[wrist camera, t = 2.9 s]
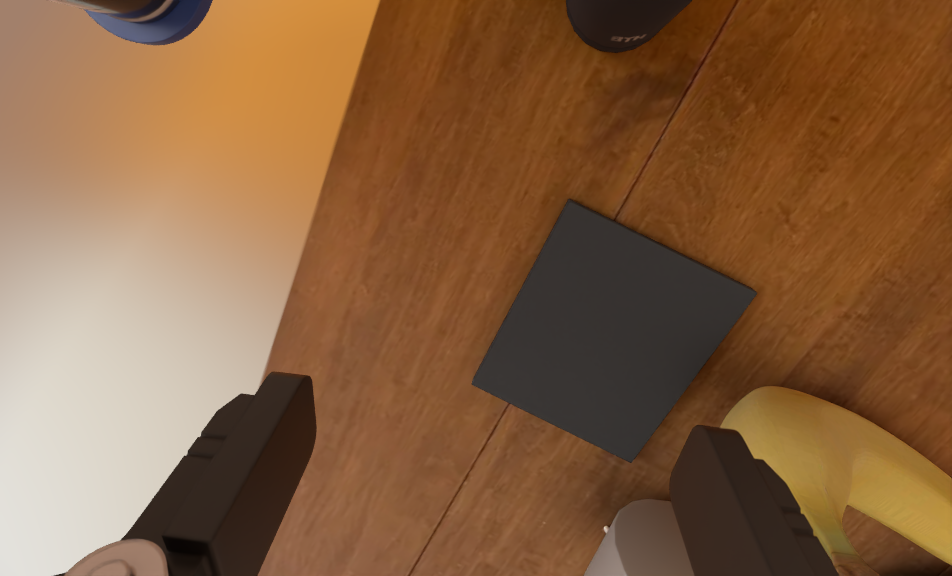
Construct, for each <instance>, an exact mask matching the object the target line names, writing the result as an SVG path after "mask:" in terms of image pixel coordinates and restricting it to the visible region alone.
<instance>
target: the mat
mask: <svg viewBox="0 0 952 576" xmlns="http://www.w3.org/2000/svg"><path fill="white" fill-rule="evenodd" d="M756 295H757V292H756V291H755V290H753V289H752V288H750V287H748V286H746V285H744V284H742V283H740V282H738V281H736V280H734V279H732V278H730V277H728V276H726V275H724V274H722V273H720V272H718V271H716V270H714V269H712V268H710V267H708V266H706V265H703V264H701V263H699V262H697V261H695V260H693V259H691V258H689V257H687V256H685V255H683V254H681V253H679V252H677V251H675V250H673V249H671V248H669V247H667V246H665V245H663V244H661V243H659V242H657V241H655V240H653V239H651V238H648V237H646V236H644V235H642V234H640V233H638V232H636V231H634V230H632V229H630V228H628V227H626V226H624V225H622V224H620V223H618V222H616V221H614V220H612V219H610V218H608V217H606V216H604V215H602V214H600V213H598V212H596V211H593V210H591V209H589V208H587V207H585V206H583V205H581V204H579V203H577V202H575V201H573V200H571V199H568V201H567V203H566V205H565V206H564V208H563V210H562V212H561V214H560V216H559V218H558V220H557V222H556V223H555V225H554V227H553V229H552V231H551V233H550V235H549V237H548V238H547V240H546V242H545V244H544V246H543V248H542V250H541V252H540V254H539V255H538V257H537V259H536V261H535V263H534V265H533V267H532V269H531V271H530V272H529V274H528V276H527V278H526V280H525V282H524V284H523V286H522V288H521V289H520V291H519V293H518V295H517V297H516V299H515V301H514V303H513V304H512V306H511V308H510V310H509V312H508V314H507V316H506V318H505V320H504V321H503V323H502V325H501V327H500V329H499V331H498V333H497V335H496V337H495V338H494V340H493V342H492V344H491V346H490V348H489V350H488V352H487V353H486V355H485V357H484V359H483V361H482V363H481V365H480V367H479V369H478V370H477V372H476V374H475V376H474V378H473V381H472V385H474V386H476V387H478V388H480V389H482V390H484V391H486V392H488V393H490V394H492V395H494V396H496V397H498V398H500V399H502V400H504V401H506V402H508V403H510V404H512V405H514V406H516V407H518V408H520V409H522V410H525V411H527V412H529V413H531V414H533V415H535V416H537V417H539V418H541V419H543V420H545V421H547V422H549V423H551V424H553V425H555V426H557V427H559V428H561V429H563V430H565V431H567V432H569V433H571V434H573V435H575V436H577V437H579V438H581V439H583V440H585V441H587V442H589V443H592V444H594V445H596V446H598V447H600V448H602V449H604V450H606V451H608V452H610V453H612V454H614V455H616V456H618V457H620V458H622V459H624V460H626V461H628V462H630V463H632V461H633V460H634V459H635V457H636V456H637V455H638V453H639V452H640V451H641V449H642V448H643V447H644V445H645V444H646V442H647V441H648V440H649V438H650V437H651V436H652V434H653V433H654V432H655V430H656V429H657V428H658V426H659V425H660V424H661V422H662V421H663V420H664V418H665V417H666V416H667V414H668V413H669V412H670V410H671V409H672V408H673V406H674V405H675V404H676V402H677V401H678V399H679V398H680V397H681V395H682V394H683V393H684V391H685V390H686V389H687V387H688V386H689V385H690V383H691V382H692V381H693V379H694V378H695V377H696V375H697V374H698V373H699V371H700V370H701V369H702V367H703V366H704V365H705V363H706V362H707V361H708V359H709V358H710V356H711V355H712V354H713V352H714V351H715V350H716V348H717V347H718V346H719V344H720V343H721V342H722V340H723V339H724V338H725V336H726V335H727V334H728V332H729V331H730V330H731V328H732V327H733V326H734V324H735V323H736V322H737V320H738V319H739V318H740V316H741V315H742V313H743V312H744V311H745V309H746V308H747V307H748V305H749V304H750V303H751V301H752V300H753V299H754V297H755V296H756Z"/></svg>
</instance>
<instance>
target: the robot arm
mask: <svg viewBox="0 0 952 576" xmlns="http://www.w3.org/2000/svg"><path fill="white" fill-rule="evenodd" d="M48 1H53V2H57V3H61V4H65V5H69V6H73V7H77V8H81V9H85V10H89V11H93V12H97V13H102V14H106V15H108V16H111V17H113V18H116V19H119V20H124V21H128V22H133V23H150V22H154V21H157V20H159V19H161V18H163V17H165V16H166V15H168V14H169V13H170V12H171V11H172V10H173V9H174V8H175V7H176V6H177V4H178V3H179V1H180V0H48ZM315 439H316V417H315V406H314V395H313V385H312V379H311V377H310V376H307V375H299V374H291V373H283V372H271V373H270V374H269V375H268V376H267V377H266V379H265V380H264V382H263V383H262V385H261V386H260V388H259V389H258V391H257V392H256V394H255V395H249V394H240V395H238V396H237V397H236V398H234V399H233V400H232V401H230V402H229V403H227V404H226V405H225V406H223V407H222V408H221V409H219V410H218V411H217V412H216V413H215V415H214V416H213V417H212V419H211V420H210V421H209V423H208V424H207V426H206V427H205V428H204V430H203V431H202V433H201V436H200V437H198V438H197V439H196V441H195V442H194V443H193V445H192V446H191V448H190V449H189V450H188V454H187V456H184V457H183V458H182V460H181V461H180V463H179V464H178V465H177V467H176V468H175V469H174V471H173V472H172V473H171V475H170V476H169V477H168V479H167V480H166V481H165V483H164V484H163V486H162V487H161V488H160V490H159V491H158V492H157V494H156V495H155V496H154V498H153V499H152V501H151V502H150V503H149V505H148V506H147V507H146V509H145V510H144V512H143V513H142V514H141V516H140V517H139V518H138V520H137V521H136V522H135V524H134V525H133V527H132V528H131V529H130V530H129V531H128V533H127V534H126V535H125V536H124V537H123V538H122V539H121V540H120V541H118V542H114V543H112V544H109V545H106V546H104V547H102V548H99V549H97V550H96V551H94V552H92V553H90V554H89V555H87V556H86V557H84V558H83V559H82V560H80V561H79V562H78V563H76V564H75V565H74V566H73V567H72V568H71V569H70V570H69V571H68V572H66V573H63V574H59V575H55V576H257V575H258V573H259V571H260V568H261V566H262V564H263V562H264V560H265V557H266V555H267V553H268V551H269V548H270V546H271V544H272V542H273V540H274V537H275V535H276V533H277V531H278V528H279V526H280V524H281V522H282V520H283V517H284V515H285V513H286V511H287V508H288V506H289V504H290V502H291V500H292V497H293V495H294V493H295V491H296V488H297V486H298V484H299V482H300V480H301V477H302V475H303V473H304V471H305V468H306V466H307V464H308V462H309V460H310V457H311V455H312V452H313V448H314V444H315ZM669 490H670V499H671V504H672V507H673V510H674V513H675V516H676V520H677V523H678V526H679V529H680V532H681V535H682V538H683V541H684V544H685V548H686V551H687V554H688V557H689V560H690V563H691V566H692V569H693V573H694V576H839V574H838V572H837V570H836V569H835V567H834V565H833V563H832V562H831V560H830V558H829V556H828V555H827V553H826V551H825V550H824V548H823V546H822V544H821V543H820V541H819V539H818V537H817V536H814V534H813V531H814V530H813V529H812V527H811V525H810V524H809V522H808V520H807V518H806V517H805V515H804V514H801V508H800V506H799V504H798V503H797V501H796V499H795V498H794V496H793V494H792V492H791V491H790V489H789V487H788V485H787V484H786V482H785V481H784V480H783V479H782V478H781V477H780V476H779V475H778V474H777V473H776V472H775V471H774V470H773V469H772V468H771V467H770V466H769V465H768V464H767V463H766V462H765V461H764V460H763V459H755V458H754V457H753V455H752V454H751V452H750V450H749V448H748V446H747V444H746V442H745V440H744V439H743V437H742V435H741V434H740V433H739V432H738V431H737V430H734V429H726V428H718V427H710V426H702V425H697V426H695V427H694V428H693V429H692V431H691V432H690V435H689V437H688V439H687V441H686V443H685V445H684V447H683V449H682V452H681V454H680V456H679V458H678V460H677V462H676V464H675V467H674V469H673V471H672V473H671V477H670V487H669Z"/></svg>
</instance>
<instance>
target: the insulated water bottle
mask: <svg viewBox="0 0 952 576" xmlns="http://www.w3.org/2000/svg"><path fill="white" fill-rule="evenodd" d="M691 1H692V0H566V5H567V14H568V17H569V19H570V22H571V24H572V26H573V29H574V31H575V32H576V33H577V34H578V35H579V36H580V38H581V39H582V40H583V41H584V42H585V43H586V44H588V45H590V46H592V47H594V48H596V49H598V50H600V51H606V52H614V53H618V52H623V51H628V50H632V49H635V48H637V47H638V46H640V45H642V44H644V43H646V42H647V41H649V40H650V39H651V38H653V37H654V36H655V35H656V34H657V33H658V32H659V31H660V30H661V29H662V28H663V27H664V26H665V25H667V24H668V23H669V22H670V21H671V20H672V19H673V18H674V17H675V16H676V15H677V14H678V13H679V12H680V11H682V10H683V9H684V8H685V7H686V6H687V5H688V4H689V3H690V2H691Z"/></svg>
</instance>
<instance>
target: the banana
mask: <svg viewBox="0 0 952 576" xmlns="http://www.w3.org/2000/svg"><path fill="white" fill-rule="evenodd" d="M720 428H726V429H734V430H737V431H738V432H739V433H740V434H741V435H742V437H743V439H744V440H745V442H746V444H747V446H748V448H749V450H750V452H751V454H752V455H753V457H754V458H755V459H763V460H764V461H765V462H766V463H767V464H768V465H769V466H770V467H771V468H772V469H773V470H774V471H775V472H776V473H777V474H778V475H779V476H780V477H781V478H782V479H783V480H784V481H785V482H786V484H787V485H788V487H789V489H790V491H791V492H792V494H793V496H794V498H795V499H796V501H797V503H798V504H799V506H800V508H801V514H804V515H805V517H806V518H807V520H808V522H809V524H810V525H811V527H812V529H813V530H814V531H813V534H814V536H817V537H818V539H819V541H820V543H821V544H822V546H823V548H824V550H825V551H826V552H827V554H828V555H829V557H830V559H831V560H832V562H833V565H834V567H835V569H836V570H837V572H838V574H839V576H880V575H879V574H878V573H877V572H875V571H874V570H872V569H871V568H870V567H869V566H868V565H867V564H866V563H865V562H864V561H863V559H862V558H861V557H860V556H859V554H858V553H857V551H856V550H855V549H854V547H853V546H852V544H851V542H850V541H849V539H848V537H847V535H846V534H845V531H844V529H843V526H842V517H843V513H844V511H845V508H846V506H847V505H849V506H851V507H853V508H855V509H857V510H859V511H861V512H862V513H864V514H866V515H868V516H870V517H872V518H873V519H875V520H877V521H879V522H880V523H882V524H884V525H885V526H887V527H889V528H891V529H892V530H894V531H896V532H897V533H899V534H901V535H902V536H904V537H905V538H907V539H909V540H910V541H912V542H913V543H915V544H917V545H918V546H920V547H921V548H923V549H925V550H926V551H928V552H929V553H931V554H933V555H934V556H936V557H938V558H939V559H941V560H943V561H945V562H946V563H948V564H950V565H952V478H951V477H950V476H948V475H947V474H946V473H945V472H943V471H942V470H941V469H940V468H938V467H937V466H936V465H934V464H933V463H932V462H931V461H929V460H928V459H927V458H925V457H924V456H923V455H921V454H920V453H918V452H917V451H916V450H914V449H913V448H911V447H910V446H909V445H907V444H906V443H904V442H903V441H901V440H900V439H898V438H897V437H895V436H893V435H892V434H890V433H889V432H887V431H886V430H884V429H882V428H881V427H879V426H877V425H876V424H874V423H872V422H870V421H869V420H867V419H865V418H863V417H861V416H859V415H858V414H855V413H853V412H851V411H849V410H847V409H845V408H843V407H840V406H838V405H835V404H833V403H830V402H828V401H825V400H823V399H820V398H817V397H815V396H812V395H809V394H806V393H803V392H800V391H797V390H793V389H789V388H784V387H778V386H765V387H760V388H757V389H755V390H753V391H752V392H750V393H749V394H747V395H746V396H744V397H743V398H742V399H741V400H740V401H739V402H738V403H737V404H736V405H735V406H734V407H733V408H732V409H731V410H730V412H729V413H728V414H727V416H726V417H725V418H724V420H723V422H722V424H721V426H720Z"/></svg>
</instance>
